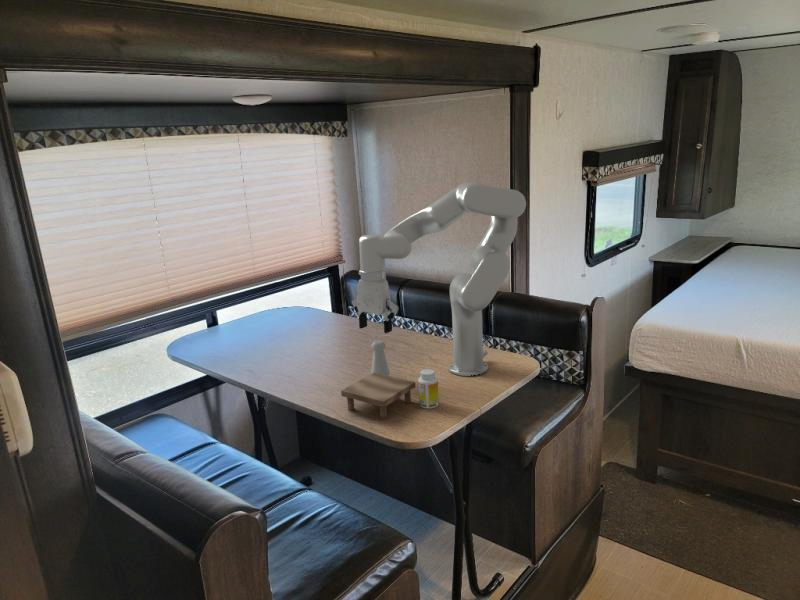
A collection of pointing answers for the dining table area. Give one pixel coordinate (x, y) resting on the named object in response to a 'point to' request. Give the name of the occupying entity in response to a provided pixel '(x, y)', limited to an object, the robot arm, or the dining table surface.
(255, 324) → the dining table surface
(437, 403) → the supplement bottle
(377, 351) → the salt shaker
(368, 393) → the small wooden table
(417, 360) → the dining table surface
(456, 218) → the robot arm
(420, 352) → the dining table surface
